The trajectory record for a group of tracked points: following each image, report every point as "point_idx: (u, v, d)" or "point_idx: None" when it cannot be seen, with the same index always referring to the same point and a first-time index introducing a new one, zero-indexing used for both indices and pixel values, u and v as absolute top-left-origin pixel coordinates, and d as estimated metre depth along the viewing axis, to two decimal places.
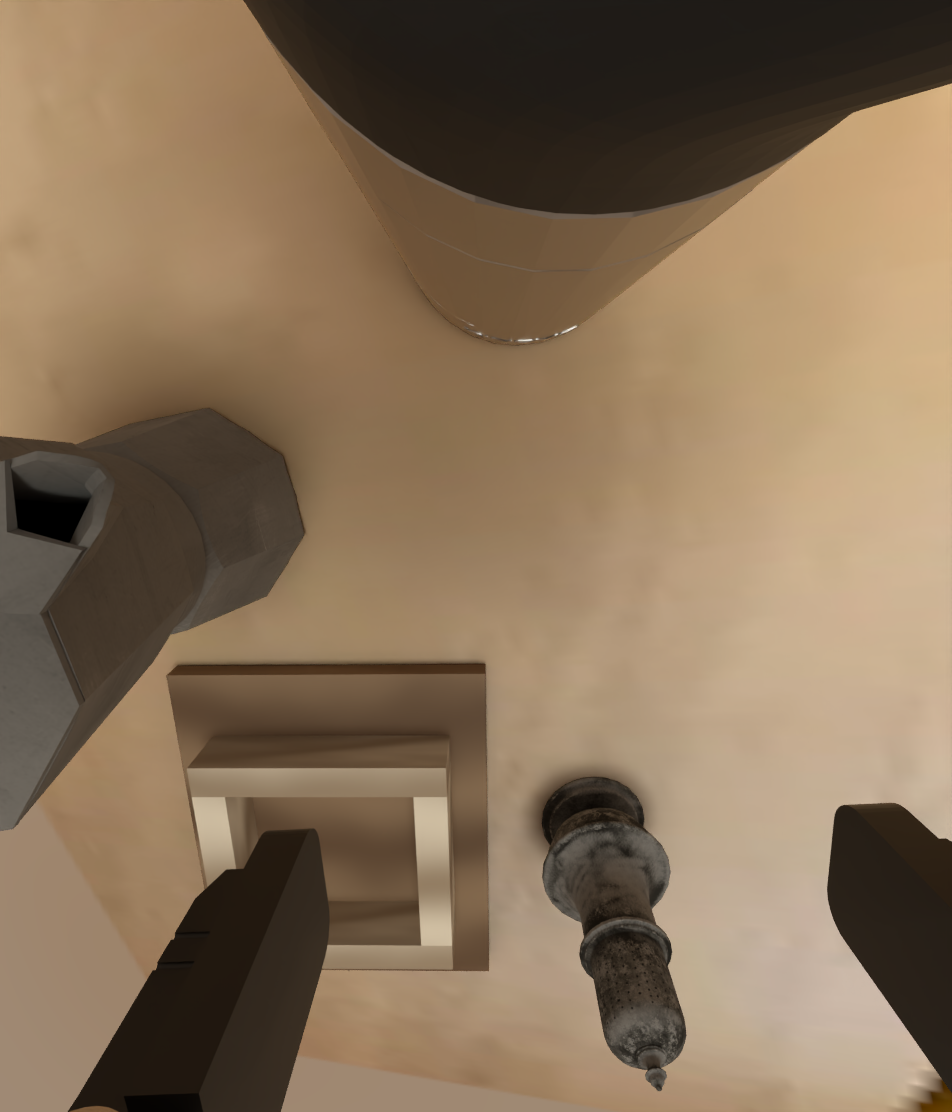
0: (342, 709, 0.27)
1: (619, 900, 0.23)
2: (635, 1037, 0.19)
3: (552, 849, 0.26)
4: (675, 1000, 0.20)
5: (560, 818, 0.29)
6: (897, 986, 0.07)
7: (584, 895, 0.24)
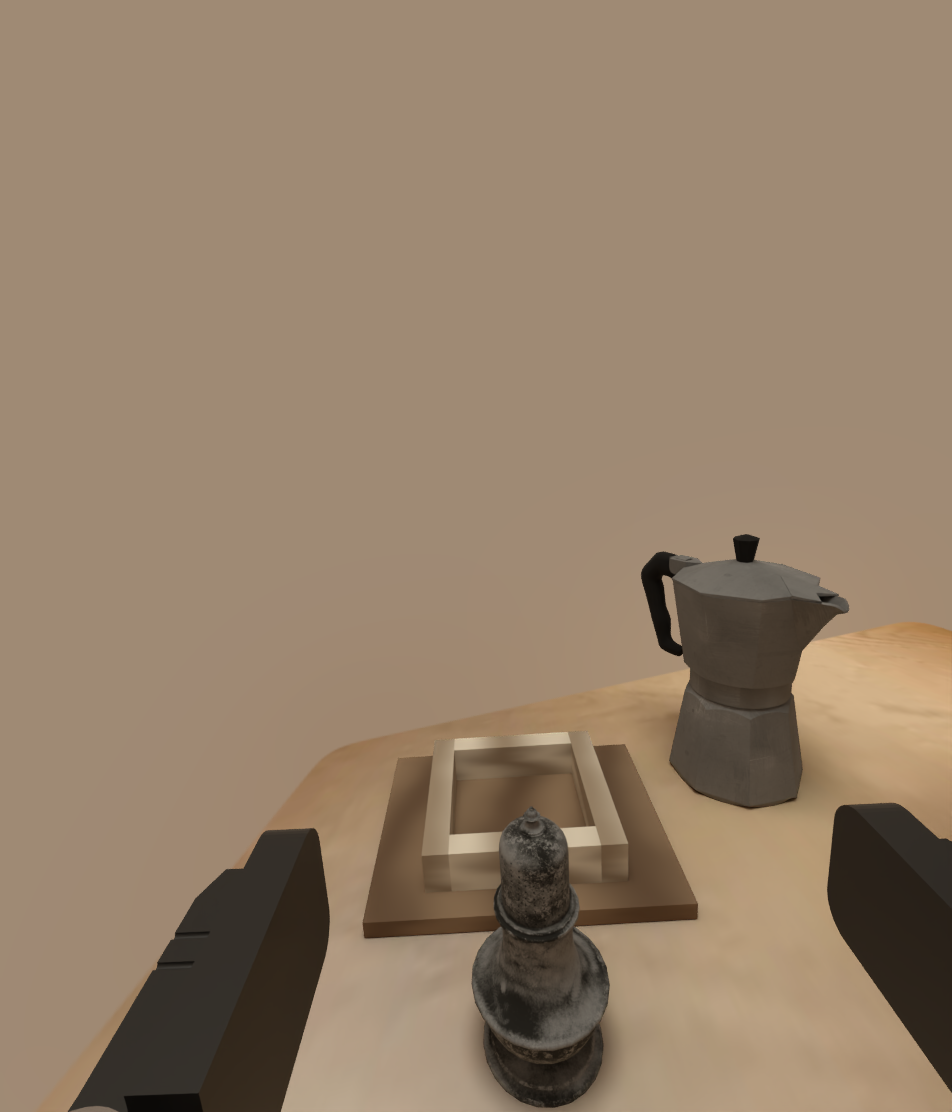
0: (629, 817, 0.37)
1: None
2: (547, 820, 0.23)
3: None
4: (558, 874, 0.22)
5: None
6: (897, 987, 0.07)
7: None
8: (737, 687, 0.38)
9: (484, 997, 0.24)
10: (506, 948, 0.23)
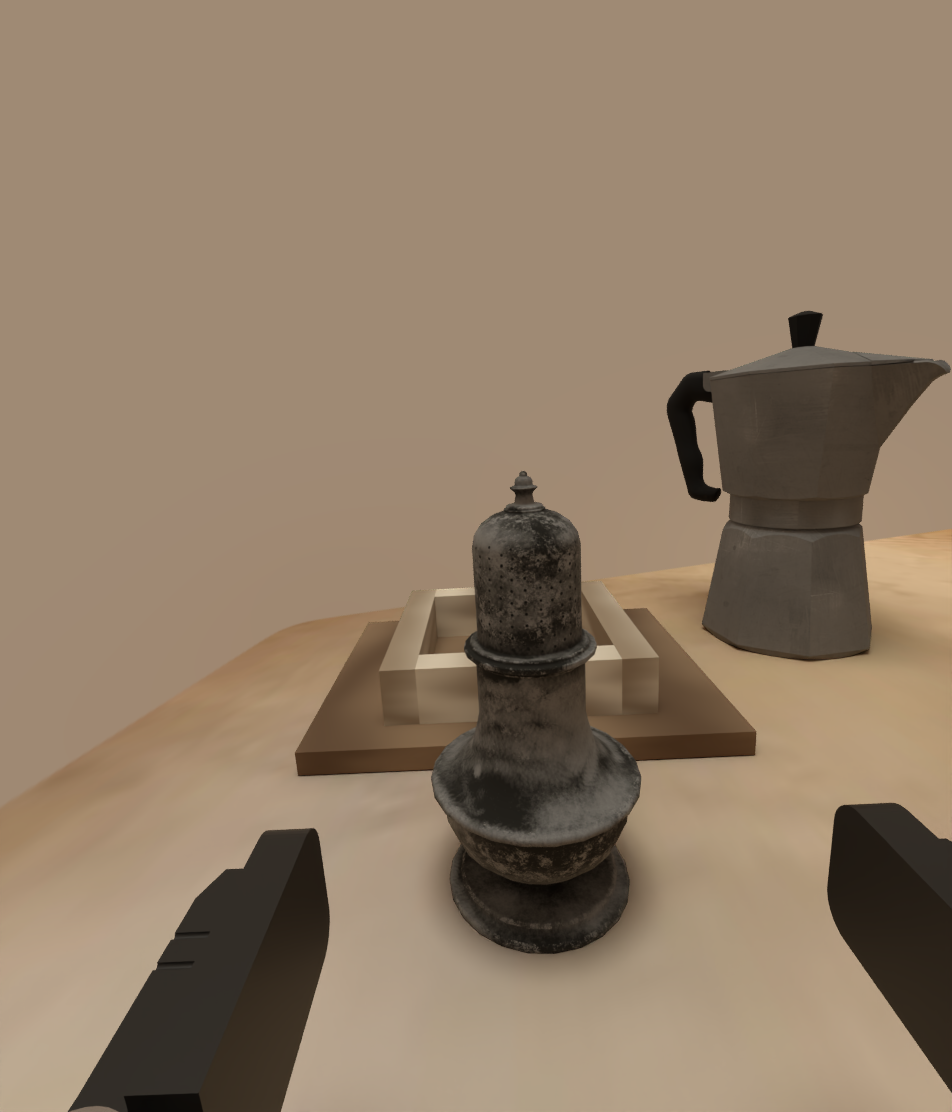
0: None
1: None
2: None
3: None
4: (564, 564, 0.14)
5: None
6: (897, 986, 0.07)
7: None
8: (795, 500, 0.29)
9: (448, 789, 0.15)
10: (483, 710, 0.15)
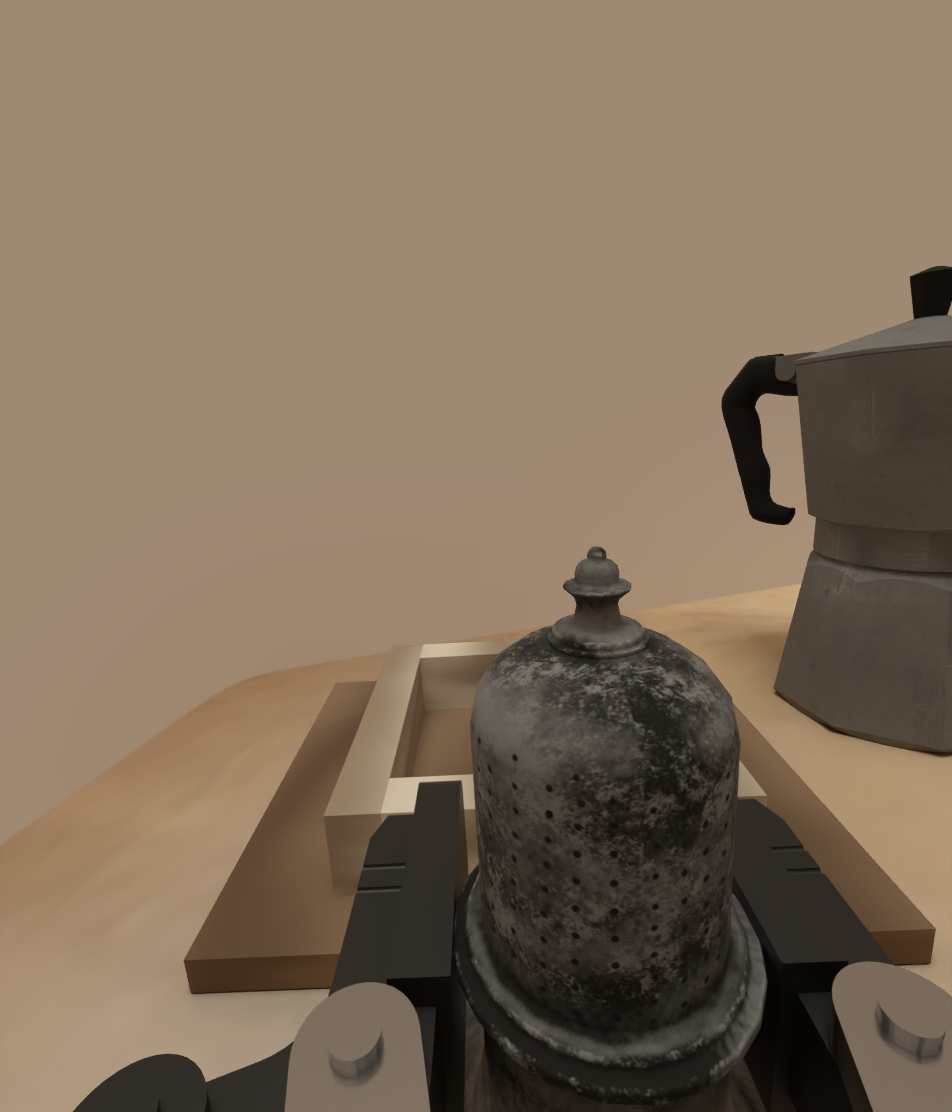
0: None
1: None
2: (644, 629, 0.06)
3: None
4: (717, 806, 0.05)
5: None
6: None
7: None
8: (925, 532, 0.21)
9: None
10: (495, 1085, 0.07)
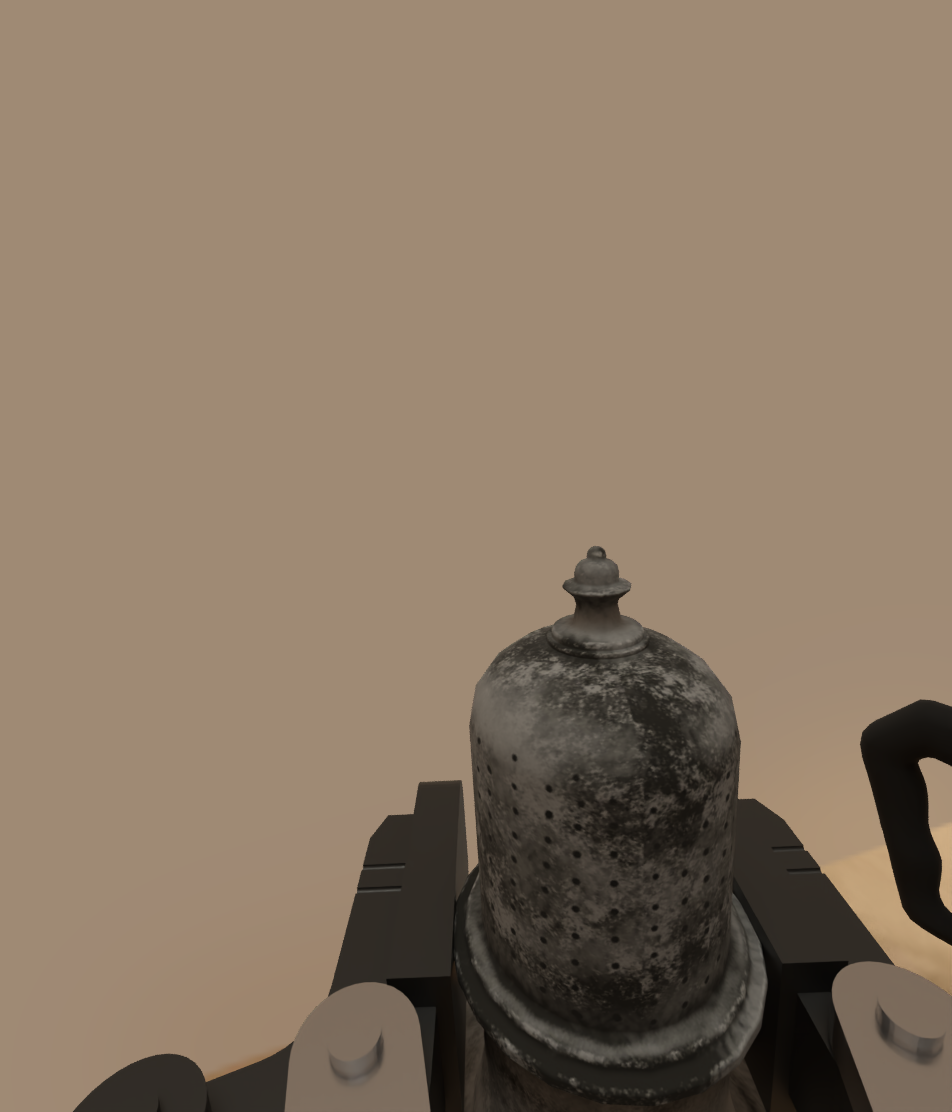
0: None
1: None
2: (644, 628, 0.06)
3: None
4: (717, 806, 0.05)
5: None
6: None
7: None
8: None
9: None
10: (495, 1086, 0.07)
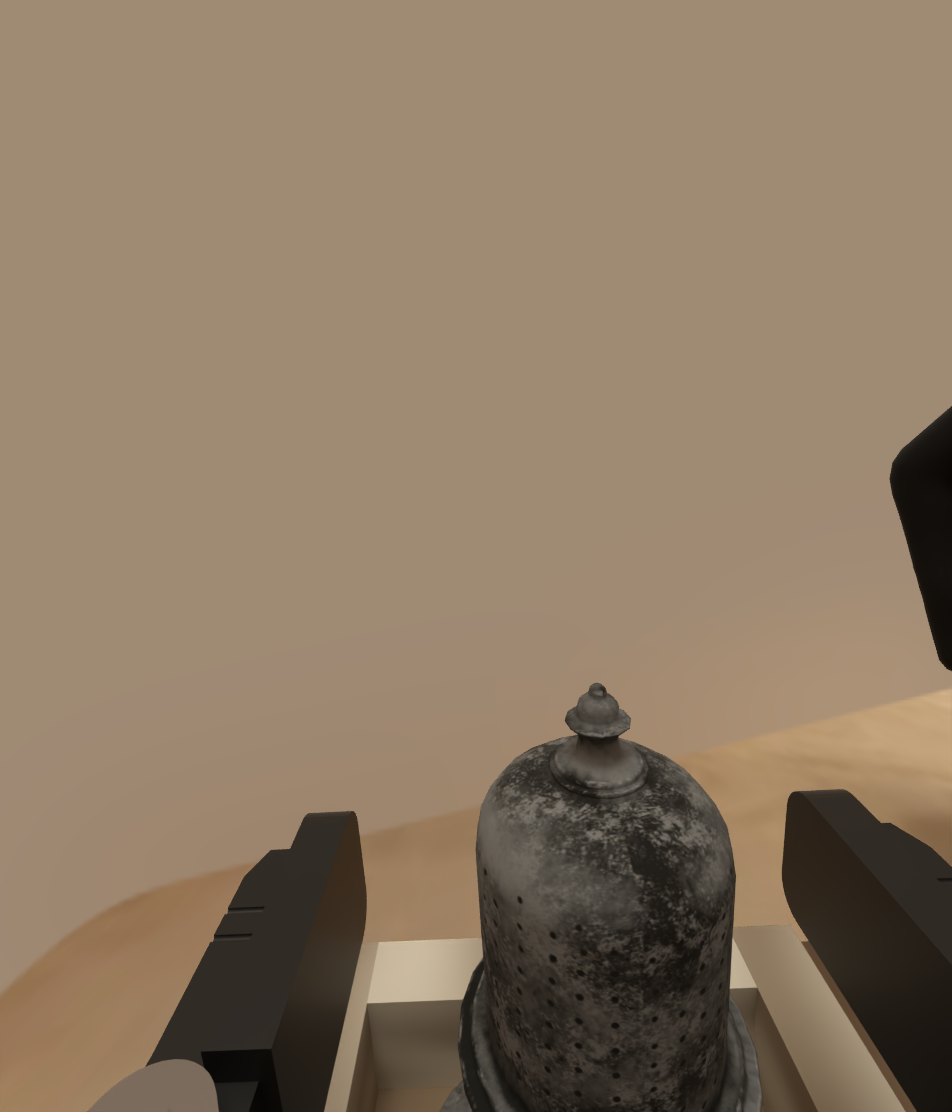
0: None
1: None
2: (643, 748, 0.07)
3: None
4: (713, 947, 0.05)
5: None
6: (839, 962, 0.08)
7: None
8: None
9: None
10: None
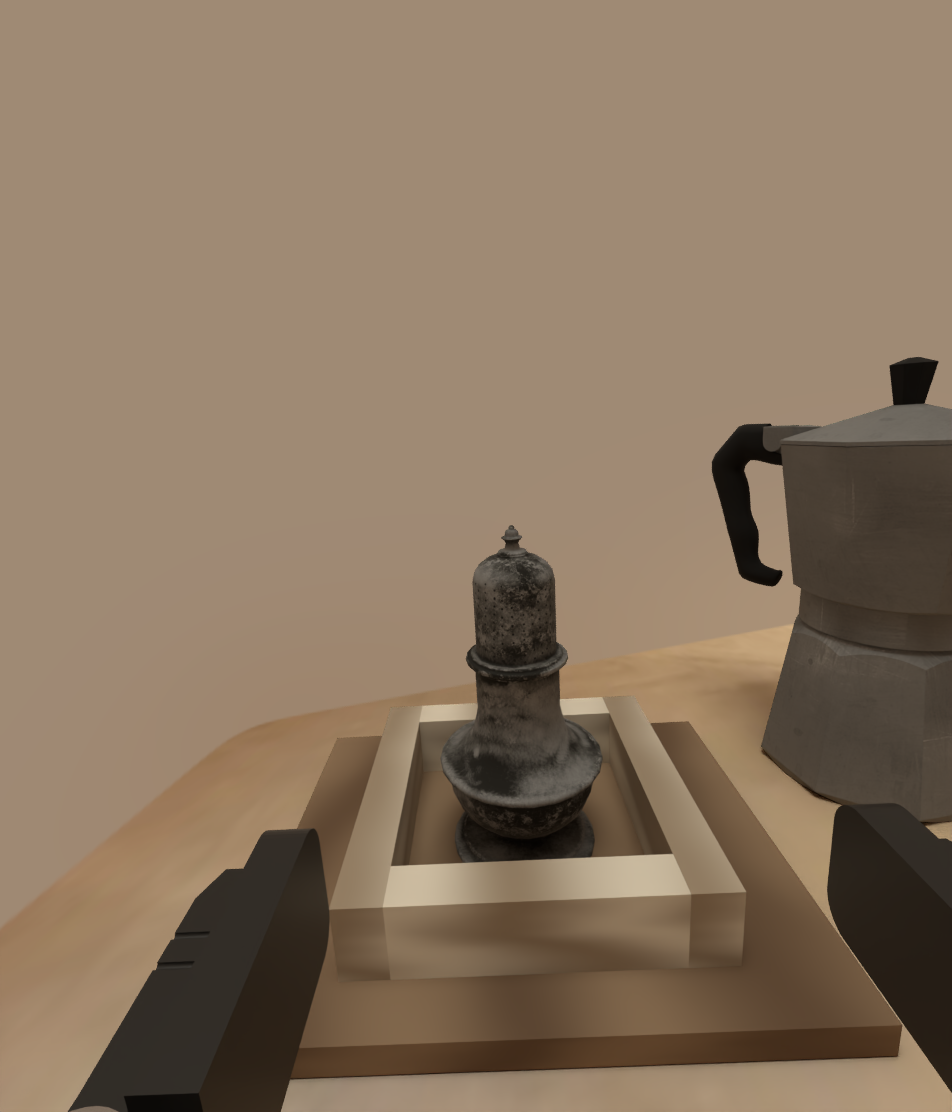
0: (718, 836, 0.21)
1: None
2: (530, 553, 0.20)
3: None
4: (541, 597, 0.18)
5: None
6: (897, 986, 0.07)
7: None
8: (903, 613, 0.22)
9: (454, 766, 0.20)
10: (480, 706, 0.20)
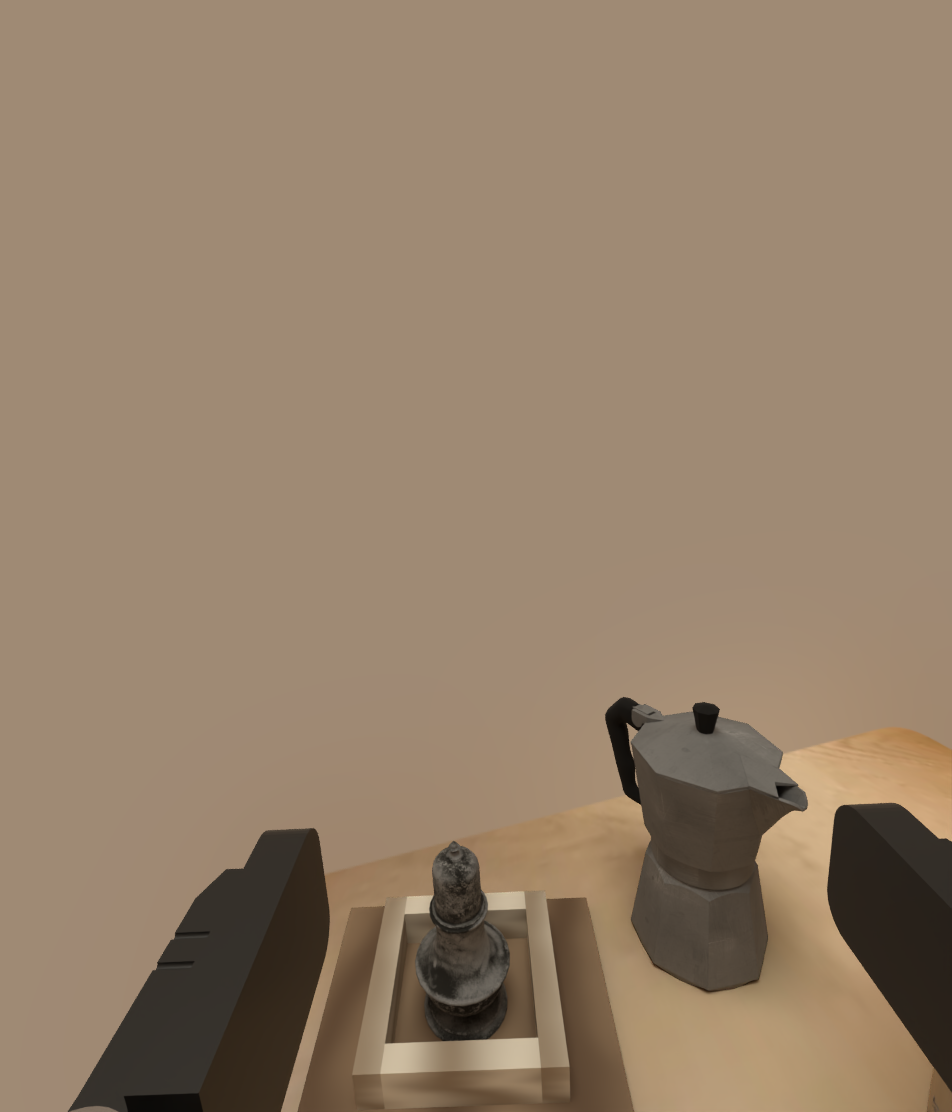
0: (580, 1006, 0.35)
1: (483, 919, 0.34)
2: (466, 850, 0.34)
3: (486, 921, 0.38)
4: (469, 887, 0.32)
5: None
6: (897, 986, 0.07)
7: None
8: (695, 867, 0.36)
9: (422, 971, 0.34)
10: (437, 937, 0.34)
